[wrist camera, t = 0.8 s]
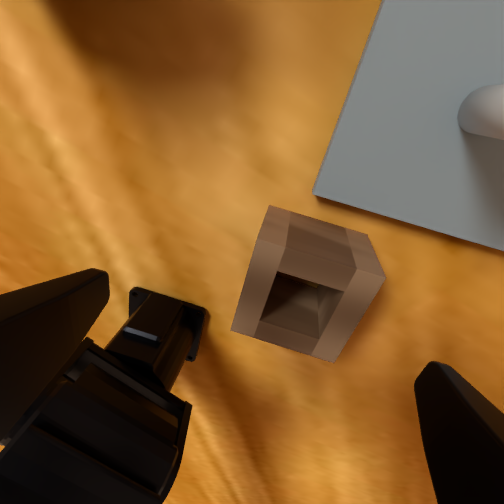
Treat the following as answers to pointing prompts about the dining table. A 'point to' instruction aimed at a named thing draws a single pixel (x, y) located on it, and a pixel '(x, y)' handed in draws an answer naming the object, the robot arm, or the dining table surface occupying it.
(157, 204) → the dining table surface
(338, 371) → the dining table surface
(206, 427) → the dining table surface
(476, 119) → the grey peg base
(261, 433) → the dining table surface
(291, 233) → the hollow square sleeve
